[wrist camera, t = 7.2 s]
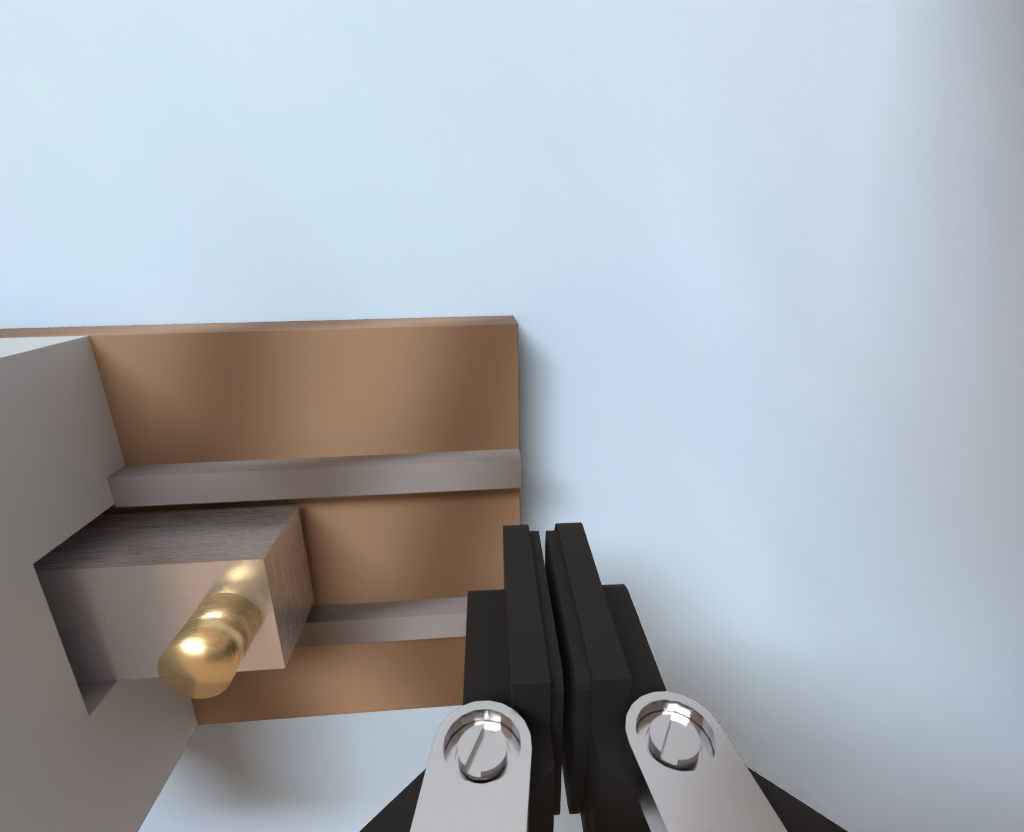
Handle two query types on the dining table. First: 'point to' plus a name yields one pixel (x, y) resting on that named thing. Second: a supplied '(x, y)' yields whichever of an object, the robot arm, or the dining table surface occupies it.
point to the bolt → (180, 595)
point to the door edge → (30, 626)
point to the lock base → (334, 482)
